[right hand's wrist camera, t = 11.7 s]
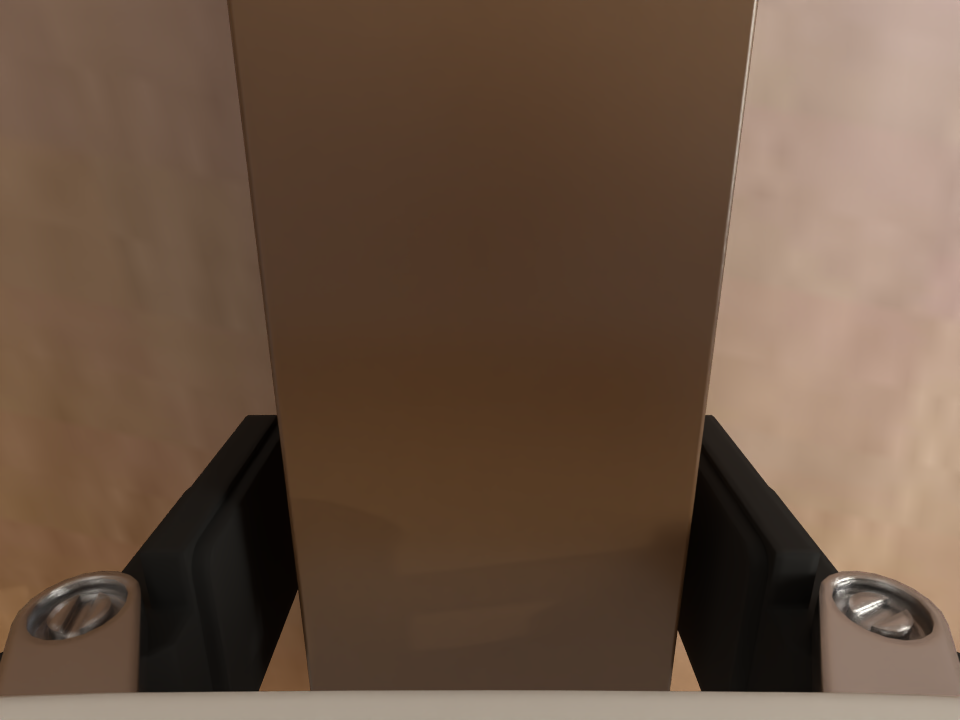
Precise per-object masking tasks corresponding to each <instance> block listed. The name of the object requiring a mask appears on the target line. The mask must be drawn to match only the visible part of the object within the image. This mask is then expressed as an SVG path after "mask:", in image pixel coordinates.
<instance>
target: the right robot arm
mask: <svg viewBox="0 0 960 720" xmlns="http://www.w3.org/2000/svg"><path fill="white" fill-rule="evenodd" d="M297 590H298V583H297V575H296V566H295V558H294V550H293V542H292V533H291V525H290V517H289V509H288V500H287V492H286V484H285V476H284V467H283V459H282V451H281V443H280V434H279V426H278V418H277V415H248V416H247V417H245V419H244V420H243V421H242V422H241V424H240V425H239V426H238V428H237V429H236V430H235V431H234V433H233V434H232V435H231V436H230V438H229V439H228V440H227V442H226V443H225V444H224V445H223V447H222V448H221V449H220V450H219V452H218V453H217V454H216V456H215V457H214V458H213V459H212V461H211V462H210V463H209V464H208V466H207V467H206V468H205V470H204V471H203V472H202V473H201V475H200V476H199V477H198V479H197V480H196V481H195V482H194V484H193V485H192V486H191V487H190V488H189V489H188V490H186V491H185V493H184V494H183V495H182V496H181V498H180V499H179V500H178V501H177V503H176V504H175V505H174V506H173V508H172V509H171V510H170V512H169V513H168V514H167V515H166V517H165V518H164V519H163V520H162V522H161V523H160V524H159V525H158V527H157V528H156V529H155V531H154V532H153V533H152V534H151V536H150V537H149V538H148V539H147V541H146V542H145V543H144V544H143V546H142V547H141V548H140V550H139V551H138V552H137V553H136V555H135V556H134V557H133V558H132V560H131V561H130V562H129V563H128V565H127V566H126V567H125V568H124V570H123V571H122V572H118V571H100V572H93V573H87V574H82V575H79V576H76V577H73V578H70V579H66V580H64V581H62V582H60V583H58V584H55V585H53V586H51V587H49V588H47V589H46V590H44V591H43V592H41V593H40V594H38V595H37V596H35V597H34V598H32V599H31V600H30V601H29V602H28V603H27V604H26V605H25V606H24V607H23V608H22V609H21V610H20V611H19V612H18V613H17V615H16V617H15V619H14V621H13V623H12V625H11V628H10V631H9V635H8V638H7V642H6V645H5V648H4V652H2V653H0V720H960V653H958V652H956V648H955V645H954V642H953V638H952V635H951V631H950V628H949V625H948V623H947V621H946V619H945V617H944V615H943V613H942V612H941V611H940V610H939V609H938V608H937V607H936V606H935V605H934V604H933V603H932V602H931V601H930V600H929V599H928V598H926V597H925V596H923V595H922V594H920V593H919V592H917V591H916V590H914V589H913V588H911V587H909V586H907V585H905V584H902V583H900V582H898V581H896V580H894V579H890V578H887V577H884V576H881V575H878V574H873V573H867V572H860V571H842V572H838V571H837V570H836V569H835V567H834V566H833V565H832V563H831V562H830V561H829V560H828V558H827V557H826V556H825V555H824V553H823V552H822V551H821V550H820V548H819V547H818V546H817V544H816V543H815V542H814V541H813V539H812V538H811V537H810V536H809V534H808V533H807V532H806V531H805V529H804V528H803V527H802V525H801V524H800V523H799V522H798V520H797V519H796V518H795V517H794V515H793V514H792V513H791V512H790V510H789V509H788V508H787V506H786V505H785V504H784V503H783V501H782V500H781V499H780V498H779V496H778V495H777V494H776V493H775V491H774V490H772V489H771V488H770V487H769V486H768V485H767V484H766V482H765V481H764V480H763V479H762V477H761V476H760V475H759V473H758V472H757V471H756V470H755V468H754V467H753V466H752V465H751V463H750V462H749V461H748V459H747V458H746V457H745V456H744V454H743V453H742V452H741V450H740V449H739V448H738V447H737V445H736V444H735V443H734V442H733V440H732V439H731V438H730V436H729V435H728V434H727V433H726V431H725V430H724V429H723V428H722V426H721V425H720V424H719V422H718V421H717V420H716V419H715V417H713V416H712V415H705V420H704V428H703V436H702V444H701V452H700V459H699V467H698V475H697V483H696V491H695V498H694V506H693V514H692V522H691V530H690V537H689V545H688V553H687V561H686V569H685V576H684V584H683V592H682V600H681V608H680V615H679V623H678V632H679V634H680V637H681V640H682V642H683V645H684V647H685V650H686V652H687V655H688V658H689V660H690V663H691V665H692V668H693V671H694V673H695V676H696V678H697V681H698V683H699V686H700V689H701V691H565V690H418V691H259V689H260V686H261V683H262V681H263V678H264V676H265V673H266V671H267V668H268V665H269V663H270V660H271V658H272V655H273V652H274V650H275V647H276V645H277V642H278V639H279V637H280V634H281V632H282V629H283V627H284V624H285V621H286V619H287V616H288V614H289V611H290V608H291V606H292V603H293V601H294V598H295V596H296V593H297Z"/></svg>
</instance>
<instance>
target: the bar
mask: <svg viewBox="0 0 960 720" xmlns="http://www.w3.org/2000/svg"><path fill="white" fill-rule="evenodd" d="M227 5H228V13H229V21H230V30H231V38H232V46H233V54H234V63H235V71H236V79H237V88H238V96H239V104H240V112H241V121H242V129H243V137H244V145H245V154H246V162H247V170H248V178H249V187H250V195H251V203H252V211H253V220H254V228H255V236H256V244H257V253H258V261H259V269H260V277H261V286H262V294H263V302H264V310H265V319H266V327H267V335H268V344H269V352H270V360H271V368H272V377H273V385H274V393H275V401H276V410H277V418H278V426H279V434H280V443H281V451H282V459H283V467H284V476H285V484H286V492H287V500H288V509H289V517H290V525H291V533H292V542H293V550H294V558H295V566H296V575H297V583H298V591H299V599H300V608H301V616H302V624H303V633H304V641H305V649H306V657H307V666H308V674H309V682H310V690H311V691H418V690H565V691H670V686H671V678H672V670H673V662H674V654H675V647H676V639H677V631H678V623H679V615H680V608H681V600H682V592H683V584H684V576H685V569H686V561H687V553H688V545H689V537H690V530H691V522H692V514H693V506H694V498H695V491H696V483H697V475H698V467H699V459H700V452H701V444H702V436H703V428H704V420H705V413H706V405H707V397H708V389H709V381H710V374H711V366H712V358H713V350H714V342H715V335H716V327H717V319H718V311H719V303H720V296H721V288H722V280H723V272H724V264H725V257H726V249H727V241H728V233H729V225H730V218H731V210H732V202H733V194H734V186H735V179H736V171H737V163H738V155H739V147H740V140H741V132H742V124H743V116H744V108H745V101H746V93H747V85H748V77H749V69H750V62H751V54H752V46H753V38H754V30H755V23H756V15H757V7H758V0H227Z"/></svg>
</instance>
